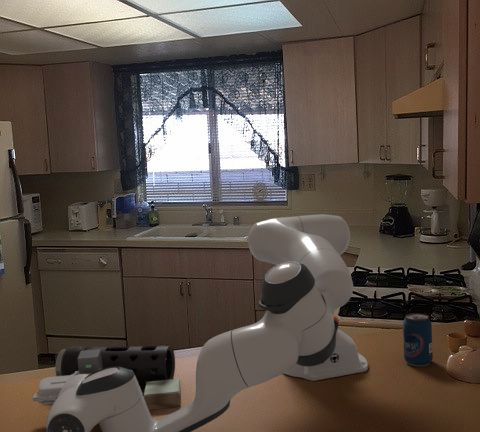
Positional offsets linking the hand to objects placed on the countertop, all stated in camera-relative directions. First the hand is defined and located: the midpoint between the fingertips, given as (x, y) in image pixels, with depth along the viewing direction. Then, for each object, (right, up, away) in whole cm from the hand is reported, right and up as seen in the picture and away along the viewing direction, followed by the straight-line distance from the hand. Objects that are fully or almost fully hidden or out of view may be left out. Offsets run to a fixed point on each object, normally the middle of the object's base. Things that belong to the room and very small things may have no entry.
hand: (92, 372), depth 134 cm
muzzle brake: (+4, -6, +10) cm, 12 cm away
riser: (+17, -6, -1) cm, 18 cm away
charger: (0, -7, 0) cm, 7 cm away
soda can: (+79, -1, +12) cm, 80 cm away
